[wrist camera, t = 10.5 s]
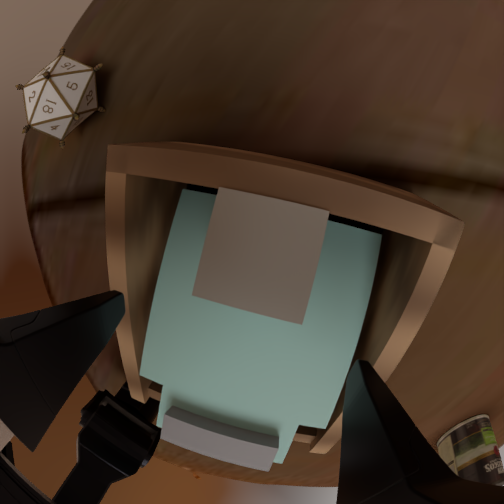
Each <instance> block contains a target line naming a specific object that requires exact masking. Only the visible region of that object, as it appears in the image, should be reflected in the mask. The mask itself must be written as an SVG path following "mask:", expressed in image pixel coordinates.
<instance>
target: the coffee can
mask: <svg viewBox="0 0 504 504" xmlns="http://www.w3.org/2000/svg"><path fill="white" fill-rule="evenodd" d="M437 447H438V451H439V456H440V457H441V458H442V459H443V461H444V462H445V463H446V464H447V465H448V466H449V467H450V469H451V470H452V471H453V472H454V473H455V474H456V475H458V476H459V477H461V478H463V479H466V480H470V481H475V482H480V483H486V484H492V485H498V486H503V485H504V469H503V465H502V461H501V457H500V453H499V449H498V446H497V442H496V439H495V436H494V433H493V429H492V426H491V423H490V420H489V416H488V415H486V414H481V415H477V416H474V417H471V418H469V419H467V420H465V421H463V422H461V423H459V424H457V425H456V426H454V427H453V428H451V429H450V430H449V431H447V432H446V433H445V434H444V435H443V436H442V437H441V438H440V439H439V440H438V442H437Z"/></svg>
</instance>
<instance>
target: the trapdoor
mask: <svg viewBox="0 0 504 504" xmlns="http://www.w3.org/2000/svg"><path fill="white" fill-rule="evenodd" d="M216 196H217V195H213V194H208V193H203V192H197V191H192V190H186V189H183V190H182V193H181V196H180V199H179V202H178V206H177V209H176V212H175V216H174V219H173V223H172V226H171V230H170V233H169V237H168V241H167V244H166V248H165V252H164V256H163V260H162V264H161V268H160V272H159V276H158V280H157V284H156V289H155V293H154V298H153V302H152V307H151V312H150V317H149V322H148V327H147V332H146V338H145V343H144V349H143V355H142V361H141V368H140V375H141V376H143V377H145V378H147V379H150V380H152V381H154V382H157V383H159V384H162V385H163V388H162V394H161V400H160V406H159V412H158V419H157V425H156V426H158V427H161V428H162V430H161V437H160V438H161V439H163V440H166V441H168V442H170V443H173V444H175V445H178V446H181V447H183V448H186V449H189V450H191V451H194V452H197V453H200V454H203V455H206V456H209V457H212V458H216V459H219V460H222V461H226V462H230V463H233V464H237V465H241V466H245V467H249V468H254V469H258V470H263V471H268V472H269V470H270V468H271V465H272V463H273V462H276V463H281V464H282V463H283V460H284V458H285V456H286V454H287V452H288V449H289V447H290V445H291V442H292V440H293V438H294V435H295V433H296V430H297V428H298V426H299V425H303V426H309V427H316V428H323V429H326V427H327V425H328V422H329V420H330V418H331V415H332V413H333V410H334V408H335V405H336V403H337V400H338V398H339V395H340V392H341V390H342V387H343V384H344V382H345V379H346V376H347V373H348V370H349V367H350V364H351V361H352V358H353V355H354V352H355V349H356V346H357V342H358V339H359V336H360V332H361V329H362V325H363V321H364V318H365V314H366V310H367V306H368V302H369V298H370V294H371V290H372V285H373V281H374V276H375V271H376V267H377V262H378V256H379V251H380V245H381V239H382V235H381V234H377V233H374V232H370V231H367V230H363V229H359V228H356V227H352V226H348V225H345V224H341V223H337V222H333V221H329V220H328V221H327V226H326V231H325V235H324V240H323V244H322V249H321V253H320V258H319V262H318V266H317V270H316V274H315V278H314V282H313V286H312V290H311V294H310V298H309V302H308V305H307V309H306V313H305V316H304V320H303V323H302V325H300V324H296V323H292V322H287V321H283V320H279V319H275V318H271V317H267V316H264V315H260V314H256V313H252V312H248V311H245V310H241V309H237V308H234V307H230V306H227V305H223V304H220V303H216V302H213V301H209V300H206V299H202V298H199V297H196V296H193V295H192V292H193V287H194V283H195V279H196V274H197V270H198V266H199V262H200V258H201V254H202V250H203V246H204V242H205V238H206V234H207V230H208V226H209V222H210V218H211V215H212V211H213V207H214V204H215V200H216Z"/></svg>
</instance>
